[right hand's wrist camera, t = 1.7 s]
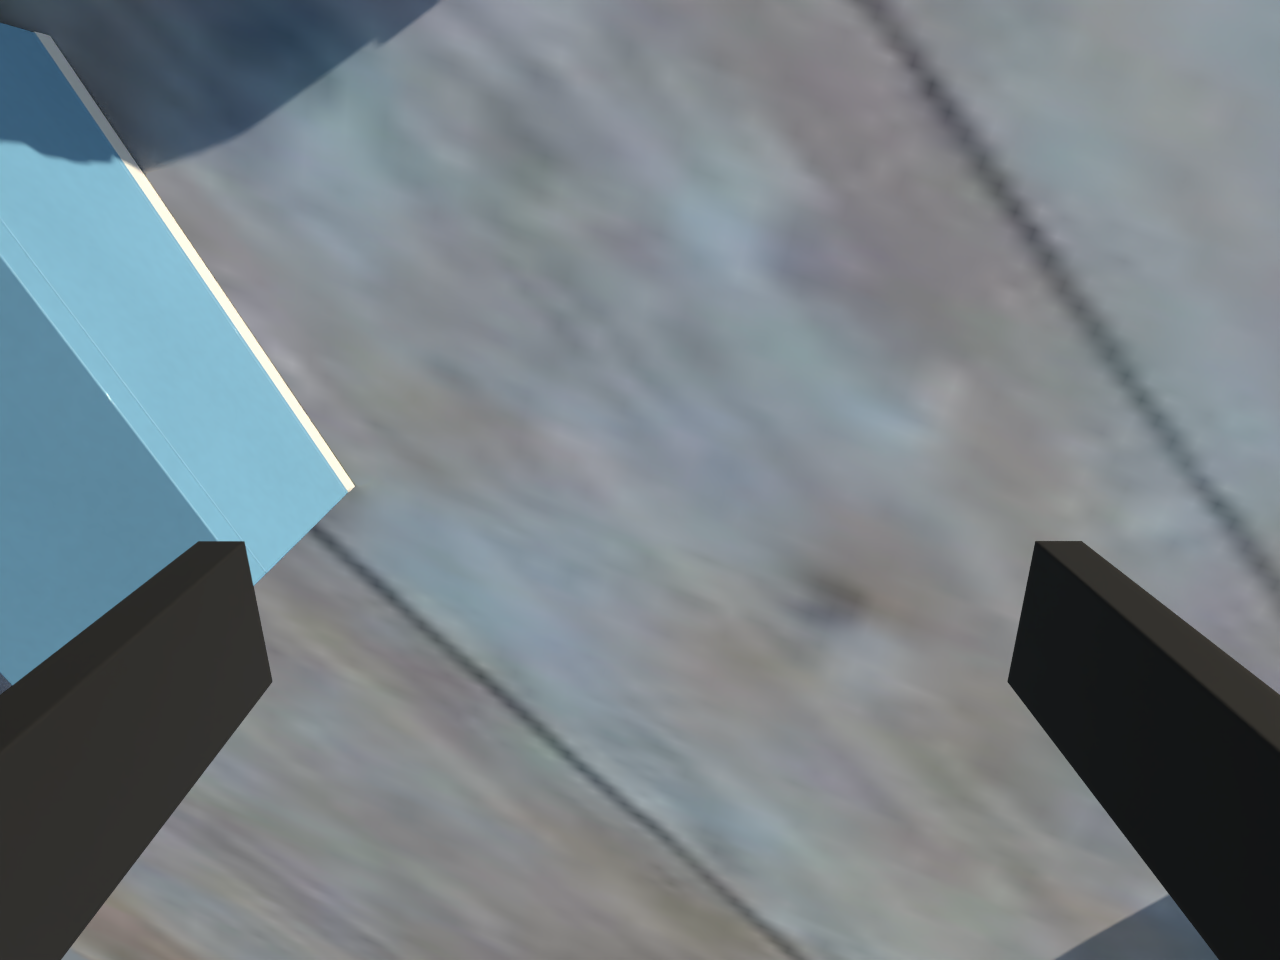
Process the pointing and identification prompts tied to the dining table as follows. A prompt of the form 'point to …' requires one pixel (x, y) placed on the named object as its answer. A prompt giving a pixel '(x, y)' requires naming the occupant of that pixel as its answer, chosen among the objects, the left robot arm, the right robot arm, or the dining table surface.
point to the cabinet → (121, 379)
